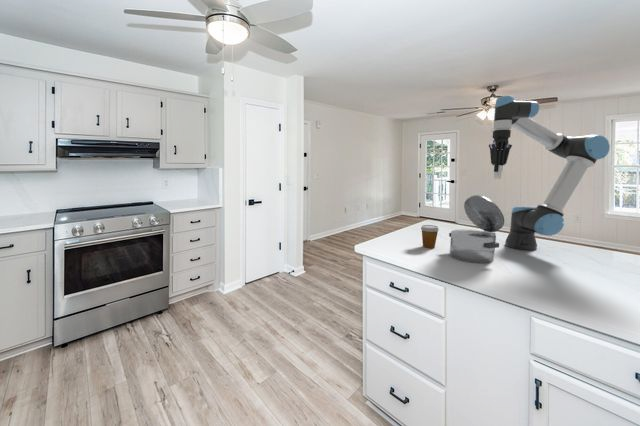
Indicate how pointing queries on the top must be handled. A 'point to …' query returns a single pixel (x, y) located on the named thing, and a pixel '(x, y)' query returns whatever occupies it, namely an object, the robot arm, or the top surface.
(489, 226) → the pot lid
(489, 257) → the cooker pot
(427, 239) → the disposable coffee cup
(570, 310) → the top surface
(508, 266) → the top surface
